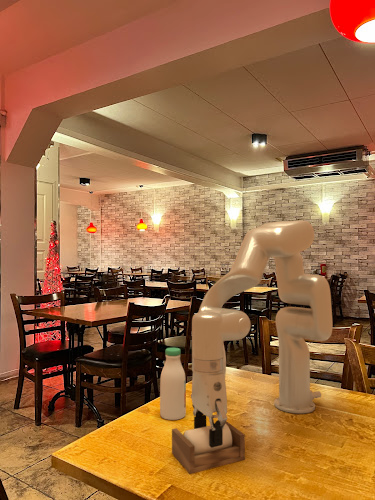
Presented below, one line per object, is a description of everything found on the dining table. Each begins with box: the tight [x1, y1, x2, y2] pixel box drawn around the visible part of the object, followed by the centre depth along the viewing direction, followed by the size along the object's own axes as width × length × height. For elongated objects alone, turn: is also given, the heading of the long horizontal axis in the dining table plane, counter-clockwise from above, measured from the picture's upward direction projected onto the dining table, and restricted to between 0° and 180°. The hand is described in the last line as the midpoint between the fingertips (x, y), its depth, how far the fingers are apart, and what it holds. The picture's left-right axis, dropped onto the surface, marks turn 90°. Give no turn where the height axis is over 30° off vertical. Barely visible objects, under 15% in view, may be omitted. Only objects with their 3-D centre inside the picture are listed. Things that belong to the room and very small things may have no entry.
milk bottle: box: [159, 347, 187, 421], centre depth 118 cm, size 8×8×20 cm
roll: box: [183, 424, 232, 456], centre depth 94 cm, size 10×6×6 cm, turn 115°
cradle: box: [171, 421, 246, 475], centre depth 94 cm, size 14×10×6 cm
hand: (207, 438), depth 94 cm, fingers open, 7 cm apart
